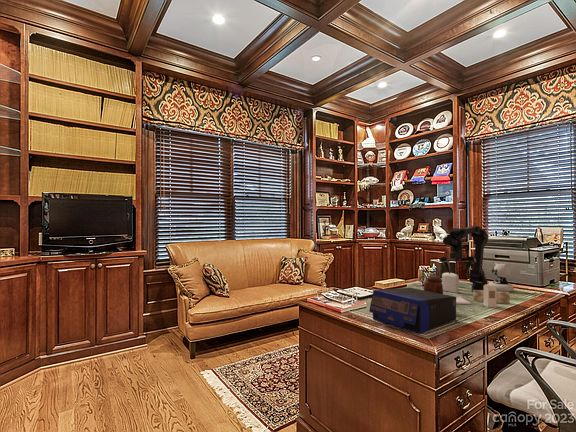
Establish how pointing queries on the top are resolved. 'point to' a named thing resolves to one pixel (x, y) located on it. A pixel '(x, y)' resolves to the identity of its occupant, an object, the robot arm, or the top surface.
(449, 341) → the top surface
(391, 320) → the headphone box
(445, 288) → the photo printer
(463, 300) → the pad
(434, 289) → the wooden figurine
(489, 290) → the plain beige block
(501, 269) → the decorative figurine
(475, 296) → the birch partition
